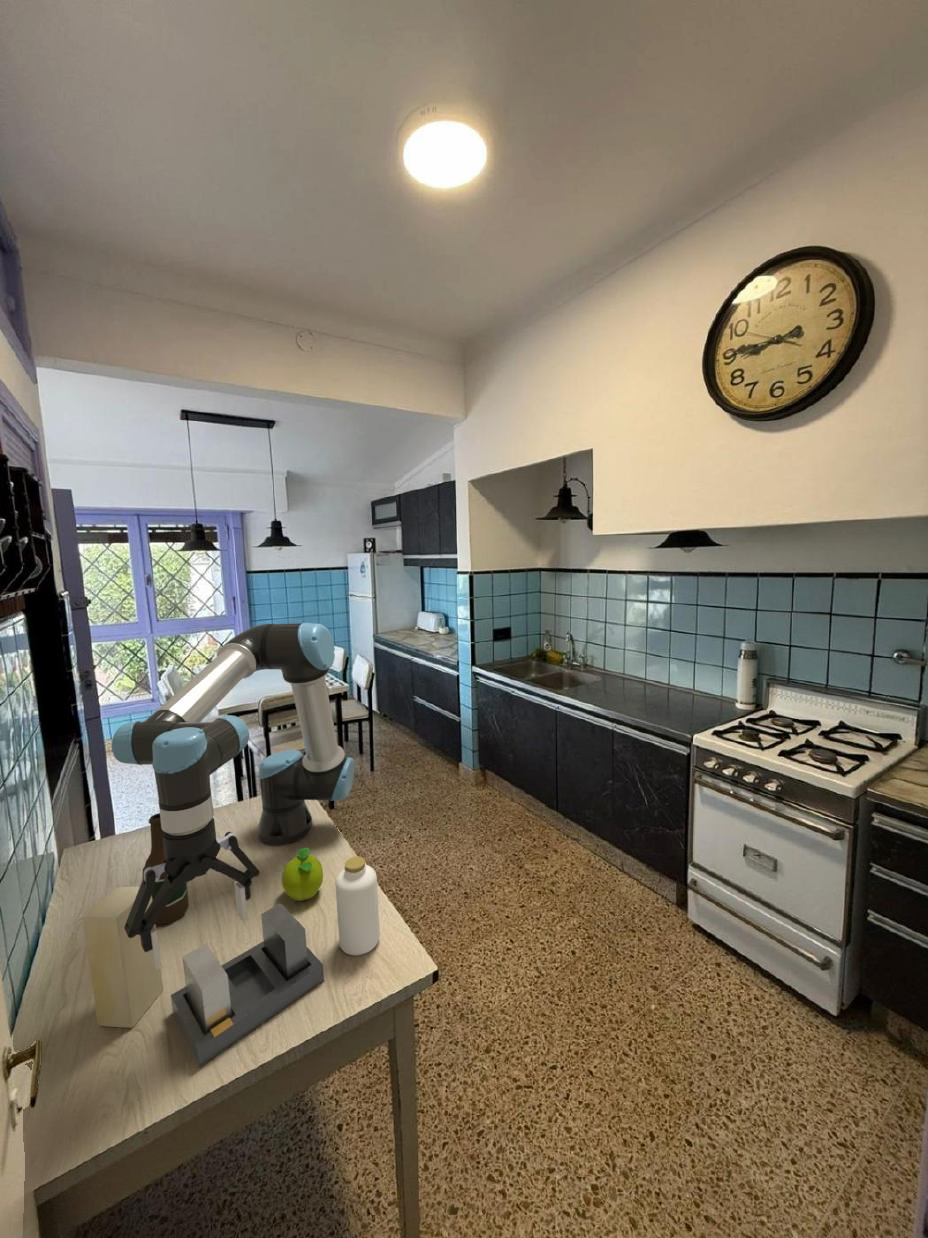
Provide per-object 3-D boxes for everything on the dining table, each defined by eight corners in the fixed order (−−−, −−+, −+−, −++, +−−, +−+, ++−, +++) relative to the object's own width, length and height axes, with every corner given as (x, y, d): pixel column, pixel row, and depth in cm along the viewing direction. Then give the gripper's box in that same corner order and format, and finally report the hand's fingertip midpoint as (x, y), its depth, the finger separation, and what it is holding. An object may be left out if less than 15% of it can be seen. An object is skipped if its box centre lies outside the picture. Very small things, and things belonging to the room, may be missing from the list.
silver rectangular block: (211, 992, 91) (206, 943, 90) (233, 1027, 84) (227, 975, 83) (188, 1007, 88) (182, 956, 87) (207, 1045, 81) (201, 990, 80)
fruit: (323, 879, 124) (320, 842, 122) (324, 904, 115) (322, 864, 114) (284, 887, 121) (281, 849, 120) (282, 913, 112) (279, 873, 111)
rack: (289, 941, 104) (285, 893, 102) (324, 981, 94) (320, 928, 93) (172, 1012, 88) (166, 957, 87) (199, 1068, 79) (192, 1007, 77)
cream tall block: (128, 986, 94) (114, 885, 91) (164, 989, 93) (152, 886, 90) (93, 1026, 86) (77, 916, 83) (132, 1029, 85) (117, 918, 83)
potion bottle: (388, 941, 103) (383, 861, 101) (353, 965, 97) (348, 881, 95) (365, 921, 109) (360, 845, 107) (331, 943, 103) (326, 863, 101)
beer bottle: (171, 929, 108) (159, 826, 105) (141, 925, 110) (128, 823, 107) (197, 904, 116) (186, 808, 113) (168, 900, 117) (157, 805, 114)
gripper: (254, 788, 93) (264, 892, 96) (90, 848, 75) (109, 972, 78) (272, 802, 87) (282, 911, 91) (100, 870, 70) (119, 1002, 73)
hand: (202, 940), depth 84 cm, fingers open, 13 cm apart
